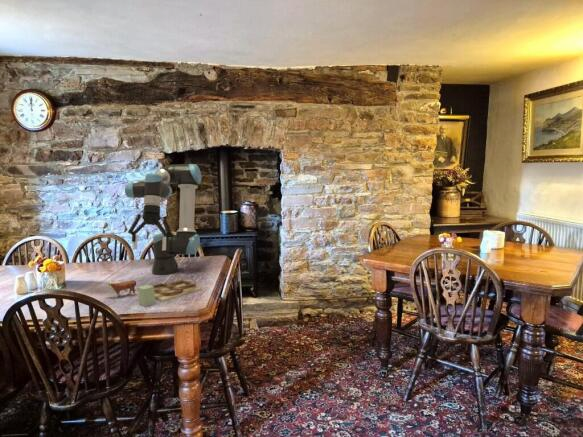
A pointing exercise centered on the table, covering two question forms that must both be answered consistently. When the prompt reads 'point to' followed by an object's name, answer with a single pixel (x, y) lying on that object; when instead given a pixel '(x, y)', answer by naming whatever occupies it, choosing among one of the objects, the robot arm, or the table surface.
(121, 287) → the bull figurine
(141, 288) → the sage-green tail block
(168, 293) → the beech board
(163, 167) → the robot arm
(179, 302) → the table surface
